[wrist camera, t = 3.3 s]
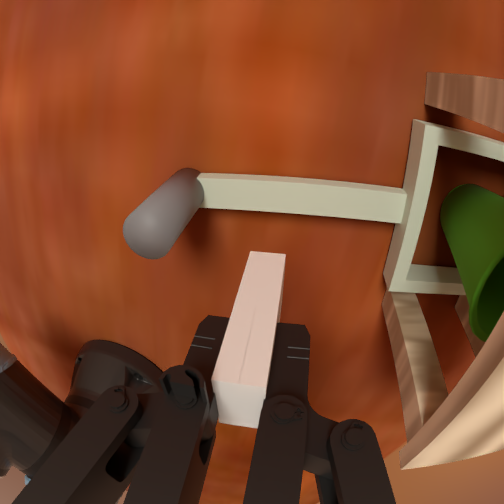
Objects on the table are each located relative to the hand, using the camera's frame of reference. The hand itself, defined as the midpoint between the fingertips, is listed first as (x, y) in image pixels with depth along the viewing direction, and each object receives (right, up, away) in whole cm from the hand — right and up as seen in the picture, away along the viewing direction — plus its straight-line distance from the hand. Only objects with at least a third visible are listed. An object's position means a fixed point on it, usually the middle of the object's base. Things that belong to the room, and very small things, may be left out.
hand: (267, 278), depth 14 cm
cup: (+17, +5, +8) cm, 20 cm away
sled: (+8, +5, +9) cm, 13 cm away
